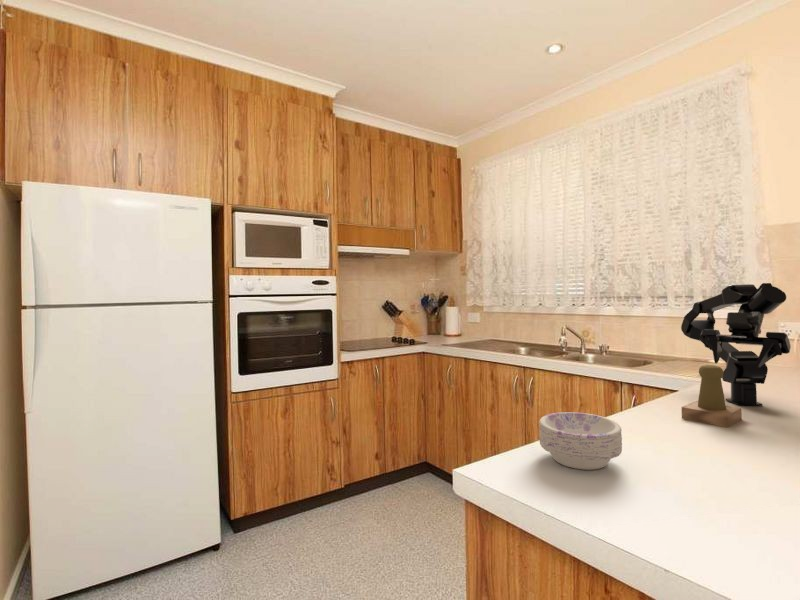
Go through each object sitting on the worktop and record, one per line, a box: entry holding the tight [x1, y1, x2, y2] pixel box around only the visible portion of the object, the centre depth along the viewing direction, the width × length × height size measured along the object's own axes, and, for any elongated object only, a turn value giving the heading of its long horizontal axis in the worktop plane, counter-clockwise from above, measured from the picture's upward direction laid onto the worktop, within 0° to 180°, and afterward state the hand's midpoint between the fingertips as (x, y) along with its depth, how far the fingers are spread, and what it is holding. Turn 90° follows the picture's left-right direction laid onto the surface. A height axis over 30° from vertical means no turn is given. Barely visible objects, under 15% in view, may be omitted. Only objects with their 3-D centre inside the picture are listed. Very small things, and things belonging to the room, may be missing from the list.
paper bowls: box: [538, 411, 623, 471], centre depth 84 cm, size 15×15×8 cm
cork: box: [697, 364, 727, 411], centre depth 109 cm, size 6×6×11 cm
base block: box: [681, 400, 743, 428], centre depth 109 cm, size 10×10×3 cm
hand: (736, 364), depth 112 cm, fingers open, 9 cm apart
